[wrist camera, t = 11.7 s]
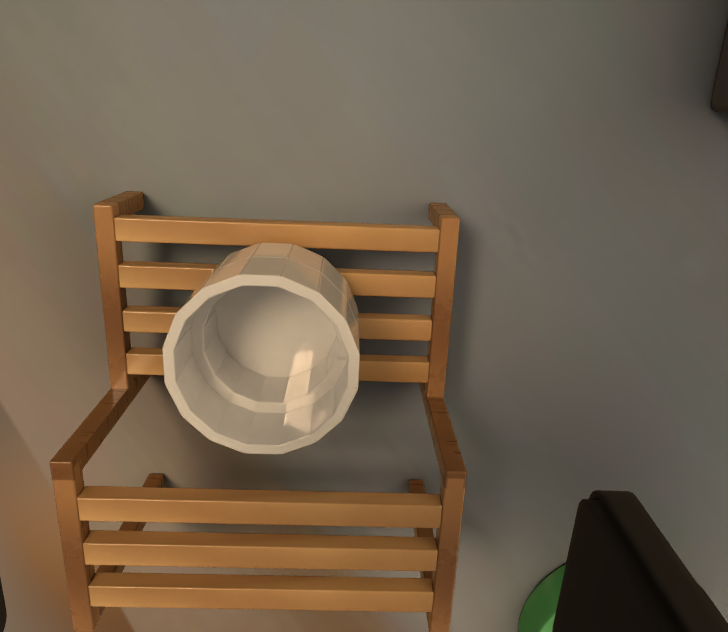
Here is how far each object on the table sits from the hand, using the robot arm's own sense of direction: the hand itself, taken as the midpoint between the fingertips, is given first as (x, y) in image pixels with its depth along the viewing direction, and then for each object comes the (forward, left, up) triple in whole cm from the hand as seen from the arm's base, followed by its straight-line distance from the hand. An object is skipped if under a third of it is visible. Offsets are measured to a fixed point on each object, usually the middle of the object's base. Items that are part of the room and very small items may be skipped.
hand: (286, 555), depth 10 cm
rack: (+6, -2, -21) cm, 22 cm away
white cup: (+2, -2, -17) cm, 18 cm away
